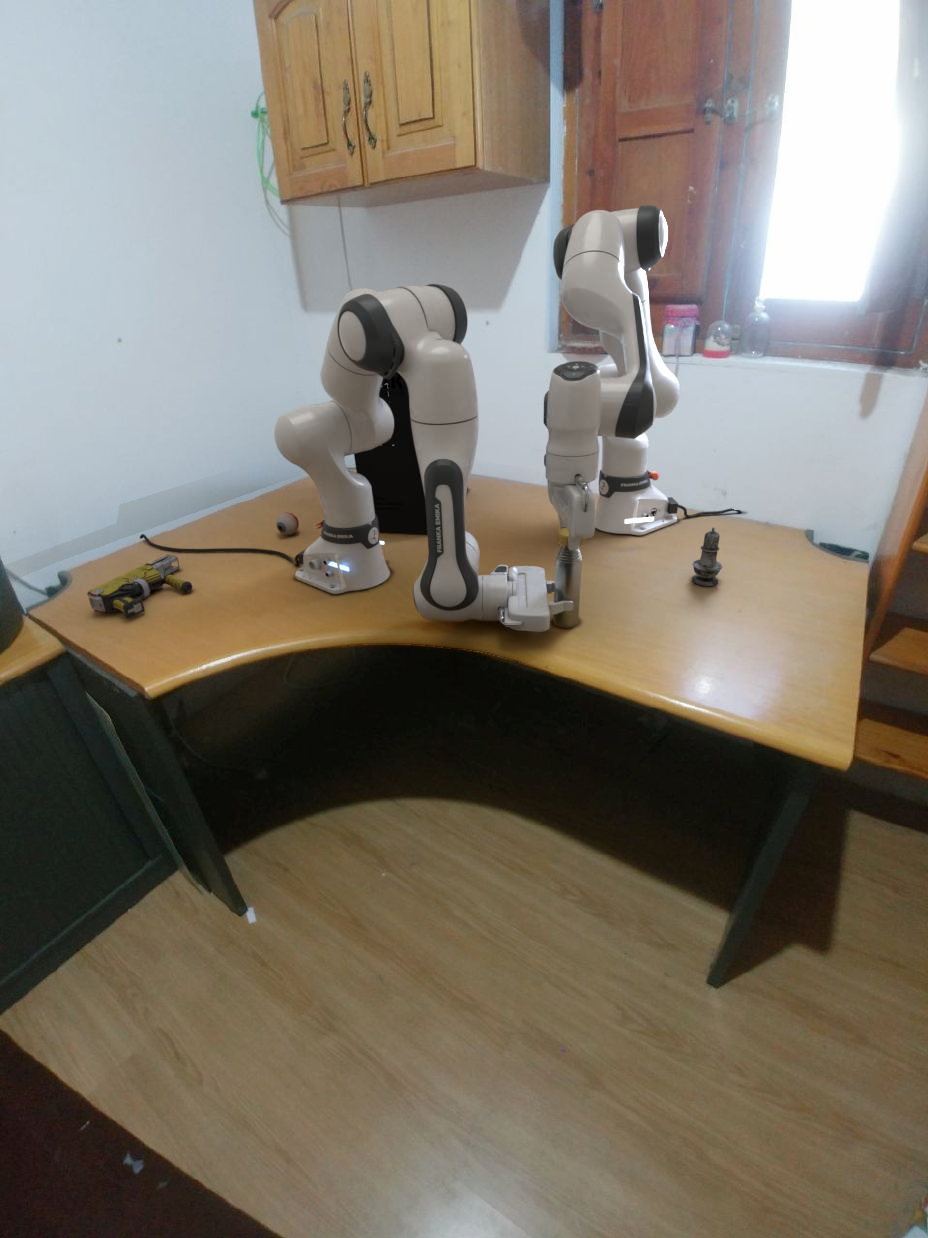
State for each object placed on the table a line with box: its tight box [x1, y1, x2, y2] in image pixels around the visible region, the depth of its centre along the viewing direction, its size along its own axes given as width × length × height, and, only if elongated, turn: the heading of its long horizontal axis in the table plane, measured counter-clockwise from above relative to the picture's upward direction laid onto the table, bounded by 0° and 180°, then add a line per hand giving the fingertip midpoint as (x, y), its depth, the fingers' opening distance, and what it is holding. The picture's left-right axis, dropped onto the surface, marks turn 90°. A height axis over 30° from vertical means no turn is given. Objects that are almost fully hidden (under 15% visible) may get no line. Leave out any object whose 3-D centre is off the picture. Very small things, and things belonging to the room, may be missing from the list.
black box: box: [353, 343, 469, 535], centre depth 166 cm, size 38×20×45 cm, turn 167°
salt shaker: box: [691, 527, 723, 587], centre depth 126 cm, size 6×6×12 cm
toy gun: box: [86, 553, 193, 620], centre depth 136 cm, size 5×24×15 cm
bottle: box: [552, 544, 583, 629], centre depth 113 cm, size 5×5×18 cm
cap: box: [557, 528, 583, 546], centre depth 108 cm, size 4×4×2 cm
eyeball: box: [275, 511, 300, 536], centre depth 163 cm, size 6×6×6 cm
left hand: (571, 596), depth 115 cm, fingers closed on bottle, 5 cm apart
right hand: (568, 542), depth 109 cm, fingers open, 4 cm apart
